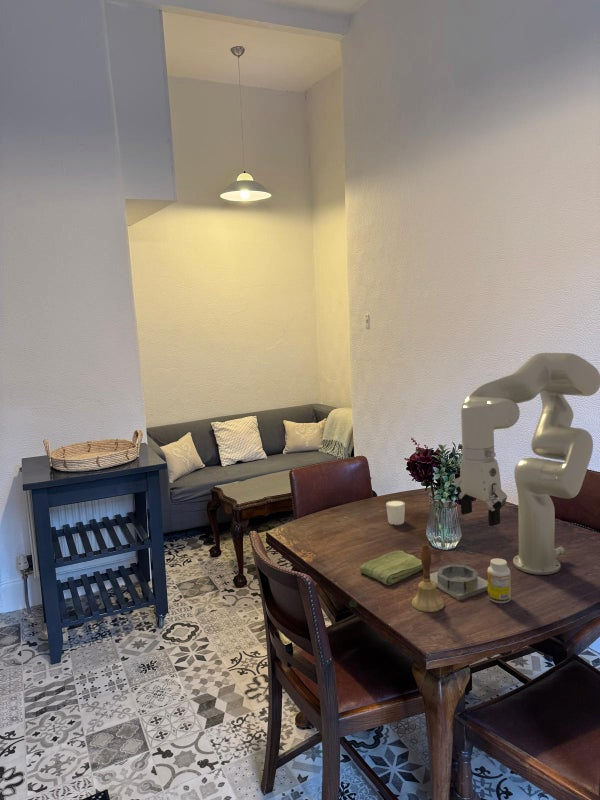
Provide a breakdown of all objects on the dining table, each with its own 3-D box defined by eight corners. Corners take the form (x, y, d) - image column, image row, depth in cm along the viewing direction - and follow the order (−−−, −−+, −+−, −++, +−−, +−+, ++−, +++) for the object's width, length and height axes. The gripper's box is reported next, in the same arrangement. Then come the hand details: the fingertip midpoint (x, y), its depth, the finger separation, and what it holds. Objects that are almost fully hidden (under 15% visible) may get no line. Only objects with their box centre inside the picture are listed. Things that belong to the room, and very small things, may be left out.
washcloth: (431, 569, 166) (430, 558, 166) (388, 588, 156) (387, 577, 156) (398, 555, 177) (398, 546, 176) (356, 573, 167) (355, 563, 166)
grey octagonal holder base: (456, 569, 164) (456, 558, 164) (493, 588, 152) (493, 576, 152) (423, 579, 159) (423, 569, 159) (458, 600, 147) (458, 588, 146)
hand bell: (406, 607, 145) (404, 548, 143) (418, 593, 152) (417, 536, 149) (437, 615, 140) (436, 554, 138) (449, 600, 147) (447, 541, 145)
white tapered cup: (382, 521, 206) (382, 502, 205) (398, 517, 209) (397, 499, 208) (393, 526, 200) (392, 507, 199) (409, 522, 203) (409, 504, 202)
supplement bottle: (493, 591, 150) (492, 555, 149) (514, 597, 146) (513, 559, 145) (484, 600, 146) (483, 562, 145) (505, 606, 142) (505, 567, 141)
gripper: (516, 457, 134) (517, 525, 137) (465, 444, 149) (467, 506, 152) (492, 462, 131) (494, 533, 133) (443, 449, 146) (445, 512, 149)
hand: (480, 518), depth 143 cm, fingers open, 9 cm apart
